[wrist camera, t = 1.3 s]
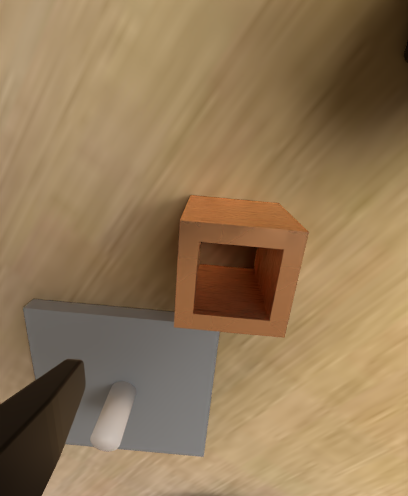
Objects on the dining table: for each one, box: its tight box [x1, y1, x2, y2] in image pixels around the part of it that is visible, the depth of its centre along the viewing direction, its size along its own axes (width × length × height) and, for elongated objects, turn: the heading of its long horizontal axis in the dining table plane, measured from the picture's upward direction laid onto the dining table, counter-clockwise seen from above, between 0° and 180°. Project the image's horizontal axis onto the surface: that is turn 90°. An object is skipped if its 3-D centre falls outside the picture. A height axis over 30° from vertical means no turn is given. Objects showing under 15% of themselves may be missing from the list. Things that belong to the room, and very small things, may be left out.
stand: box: [23, 299, 220, 457], centre depth 21 cm, size 14×14×5 cm
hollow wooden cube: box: [174, 195, 309, 337], centre depth 16 cm, size 6×6×6 cm
